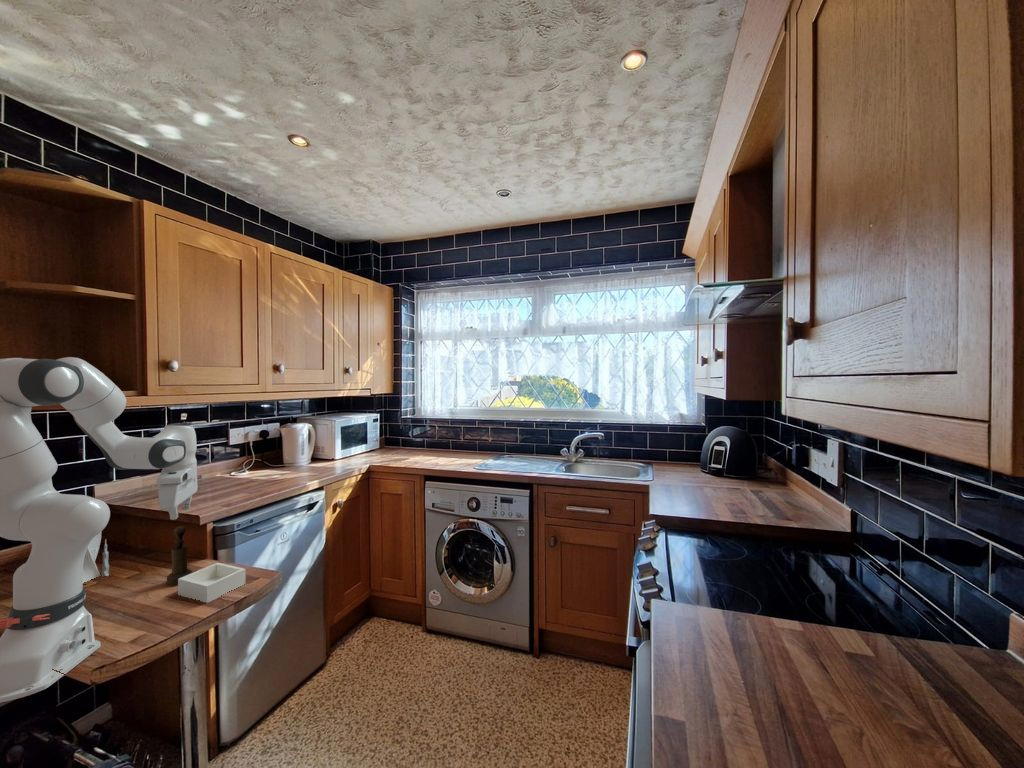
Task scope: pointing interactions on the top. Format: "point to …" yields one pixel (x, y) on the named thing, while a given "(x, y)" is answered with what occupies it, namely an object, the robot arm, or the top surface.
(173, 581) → the dark brown tall piece
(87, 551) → the skyscraper
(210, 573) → the open rectangular tray
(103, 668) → the top surface
